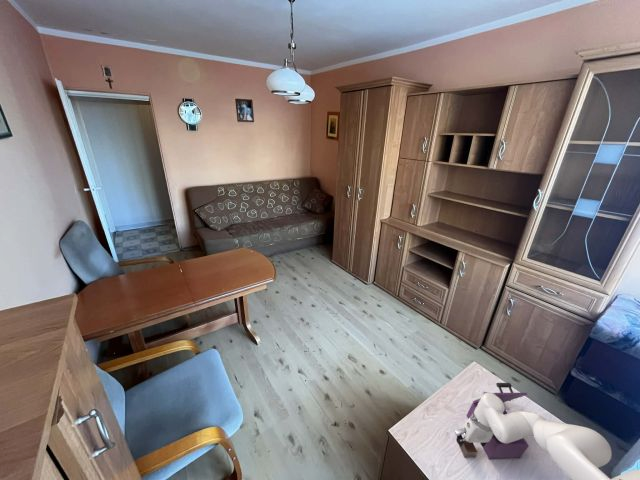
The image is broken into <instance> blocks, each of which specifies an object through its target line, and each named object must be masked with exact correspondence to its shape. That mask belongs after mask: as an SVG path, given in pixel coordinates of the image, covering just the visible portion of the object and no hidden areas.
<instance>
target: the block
mask: <svg viewBox="0 0 640 480" xmlns="http://www.w3.org/2000/svg"><path fill="white" fill-rule="evenodd" d="M458 447H459V448H460V452H462V455H463V456H462V457H463V458H475V457H476V455H477V453H478V450H477V448H476V446H475V443H470V442H467V441H466V440H465V441H464V443H463V445H462V447H460V446H459V445H458Z"/></svg>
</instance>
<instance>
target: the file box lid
mask: <svg viewBox="0 0 640 480" xmlns="http://www.w3.org/2000/svg"><path fill="white" fill-rule="evenodd" d="M495 385H496V387H497V388H498V389H499V392H492V393H493V394H494V395H496V396H497V397H499V398H500V399H501V400H502V402H504V403H506V402H511V401H514V400H515V399H518V398H522V397H525V396H528V392H514V391H513V388H512V383H511V382H496V384H495ZM502 388H504V389H505V388H506V389H507V388H508V390H509V392H504V391H503V389H502ZM480 399H481V397H480V398H477V399H475V400H472V403H479V401H480ZM510 400H511V401H510Z"/></svg>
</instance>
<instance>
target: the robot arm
mask: <svg viewBox="0 0 640 480" xmlns="http://www.w3.org/2000/svg"><path fill="white" fill-rule="evenodd" d="M492 393H493V392H490V393H485V394H484V395H483V394H482V395H481V397H480V398H481V399H480V398H479V399H480V401H479V403H478V405H477V407H476V409H475V410H474V412H473V414H472V416H471V417H470V418H469V419H468V418H467V419H466V421H465V422H464V423H463V425H462V427H461V428H460V429H455V430H454V433H455V436H456V443H457V445H458V447H459V446H460V447H462V445H463V443H464V441H465V440H466V441H467V442H470V443H473V444H475V443H477V444H478V443H479V444H480V445H481V447H482V448H483V447H484V446H485V444H486V443H487V442H489V441H490V440H491V438H493V436H496V438H497V439H498V440H499V441H500V442H502V443H511V442H514V441H517V440H519V439H522V438H524V439H525V438H528V437H534V440H535V442H536V444H537V445H538V446H539V448H541V450H543V451H544V452H546V453H547V454H549V456H550V458H551V460H552V461H553V462H554V463H555V464H556V465H557V466H558V468H559V469H560V470H561V471H562V472H563V473H564V474H565V475H566V476H567V477H568V478H569V479H570V480H640V469H632V470H629V471H626V472H623V473H622V474H619V475H617V476H615V477H612V478H610V477H609V476H608V475H607V474H606V473H604V471H602V470H601V469H599V468H601V467H603V466H605V465H607V464H608V463H609V462H610V461H611V459H612V447H611V445H610V443H609V442H608V441H607V440H606V438H605V437H604V436H603V435H601V434H600V433H599V432H597V431H596V430H594V429H592V428H589V427H586V426H581V425H576V424H570V423H566V422H565V423H564V422H559V421H552V420H548V419H546V418H545V417H543V416H542V415H540V414H539V413H535V412H530V411H529V412H528V411H522V410H517V411H511V412H507V413H508V414H503V412H504V410H506V408H505V403H504V404H503V402H502V400H501V399H500V398H499V397H497V396H496V395H494V394H492ZM463 436H464V437H463ZM460 447H459V448H460Z"/></svg>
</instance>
